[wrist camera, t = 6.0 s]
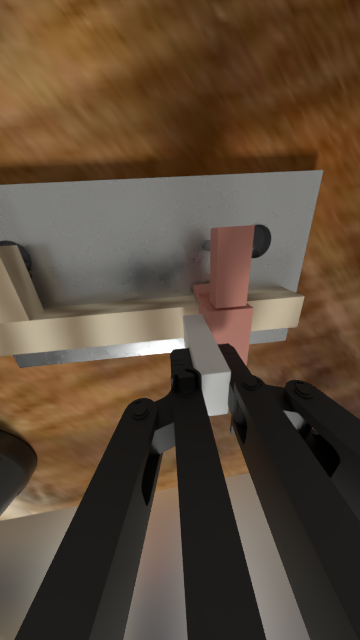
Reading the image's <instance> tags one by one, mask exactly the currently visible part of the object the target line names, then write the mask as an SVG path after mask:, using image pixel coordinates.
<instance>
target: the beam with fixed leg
mask: <svg viewBox="0 0 360 640" xmlns="http://www.w3.org/2000/svg"><path fill="white" fill-rule="evenodd" d="M304 297H305V296H303V295H300V294H298V293H295V292H293V291H291V290H288V289H286V288H272V289H260V290H248V295H247V303H248V304H249V305H250V306H252V307H253V317H252V325H251V331H260V330H270V329H280V328H290V327H297V325H298V321H299V317H300V313H301V309H302V305H303V301H304ZM194 314H199V302H198V301H197V299H196V297H195V295H190V296H178V297H166V298H154V299H143V300H131V301H119V302H108V303H96V304H84V305H72V306H61V307H49V308H43V307H42V305H41V302H40V300H39V297H38V295H37V293H36V290H35V288H34V285H33V283H32V280H31V278H30V276H29V273H28V271H27V268H26V266H25V263H24V261H23V259H22V256H21V254H20V251H19V249H18V246H17V245H11V246H0V356H7V355H18V354H28V353H38V352H48V351H58V350H68V349H78V348H88V347H98V346H108V345H119V344H129V343H139V342H149V341H159V340H169V339H179V338H184V329H183V315H194Z"/></svg>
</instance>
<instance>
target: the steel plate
mask: <svg viewBox="0 0 360 640" xmlns="http://www.w3.org/2000/svg"><path fill="white" fill-rule="evenodd" d="M322 174H323V170H312V171H291V172H269V173H247V174H226V175H204V176H182V177H161V178H139V179H117V180H96V181H74V182H52V183H31V184H9V185H0V246H11V245H17V246H18V249H19V251H20V254H21V256H22V259H23V261H24V263H25V266H26V268H27V271H28V273H29V276H30V278H31V280H32V283H33V285H34V288H35V290H36V293H37V295H38V297H39V300H40V302H41V305H42V307H43V308H49V307H61V306H72V305H84V304H96V303H108V302H119V301H131V300H143V299H154V298H166V297H178V296H190V295H194V293H193V285H197V284H209V283H210V252H209V251H206V250H205V249H204V243H205V241H207V240H210V233H211V228H217V227H232V226H248V225H255V228H254V238H253V247H252V257H251V266H250V276H249V285H248V290H260V289H272V288H286V289H288V290H291V291H293V292H295V293H296V291H297V286H298V282H299V277H300V273H301V268H302V264H303V259H304V255H305V250H306V246H307V241H308V237H309V232H310V228H311V224H312V219H313V215H314V210H315V206H316V201H317V197H318V192H319V188H320V183H321V179H322ZM287 331H288V328H280V329H270V330H260V331H251V333H250V341H249V344H255V343H265V342H275V341H284V340H286V336H287ZM182 348H185V346H184V338H179V339H169V340H159V341H149V342H139V343H129V344H119V345H108V346H98V347H88V348H78V349H68V350H58V351H48V352H38V353H28V354H18V355H13V356H14V358H15V360H16V362H17V364H18V365H19V367H20V368H23V367H33V366H42V365H52V364H62V363H71V362H81V361H91V360H100V359H110V358H120V357H129V356H139V355H149V354H158V353H168V352H172V351H173V349H182Z"/></svg>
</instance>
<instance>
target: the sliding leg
mask: <svg viewBox="0 0 360 640" xmlns="http://www.w3.org/2000/svg"><path fill="white" fill-rule="evenodd" d="M254 228H255V225H248V226H232V227H217V228H211V233H210V240H207V241H205V243H204V249H205V250H206V251H209V252H210V283H209V284H197V285H193V293H194V295H195V297H196V299H197V301H198V302H199V314H202V315H203V317H204V319H205V321H206V323H207V325H208V327H209V329H210V331H211V333H212V335H213V337H214V339H215V341H216V343H217V344H226V343H229V344H230V345H231V346H233V347H234V348H235V349H236V351H237V352H238V354H239V356H240V357H241V359H242V360H243V362H244V363H245V365H247V357H248V349H249V341H250V333H251V325H252V317H253V307H252V306H250V305H249V304H248V303H247V295H248V285H249V276H250V266H251V257H252V247H253V238H254Z"/></svg>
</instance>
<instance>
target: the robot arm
mask: <svg viewBox="0 0 360 640" xmlns="http://www.w3.org/2000/svg"><path fill="white" fill-rule="evenodd" d="M183 329H184V346H185V348H182V349H173V351H172V352H171V354H170V360H171V387H172V388H171V391H170V392H169V394H168V395H167V396H165V397H164V398H162V399H160V400H158V401H155V402H153V401H152V400H151V399H148V398H140V399H137V400H135V401H133V402H132V403H130V404H129V405H128V406H127V408H126V409H125V411H124V413H123V415H122V417H121V419H120V421H119V423H118V426H117V428H116V430H115V432H114V434H113V436H112V438H111V440H110V442H109V444H108V446H107V448H106V450H105V453H104V455H103V457H102V459H101V461H100V463H99V465H98V467H97V469H96V471H95V473H94V475H93V477H92V480H91V482H90V484H89V486H88V488H87V490H86V492H85V494H84V496H83V498H82V500H81V502H80V504H79V507H78V509H77V511H76V513H75V515H74V517H73V519H72V521H71V523H70V525H69V528H68V529H67V532H66V534H65V536H64V538H63V540H62V542H61V544H60V546H59V548H58V550H57V552H56V554H55V556H54V559H53V561H52V563H51V565H50V567H49V569H48V571H47V573H46V575H45V577H44V579H43V582H42V583H41V586H40V588H39V590H38V592H37V594H36V596H35V598H34V600H33V602H32V604H31V606H30V608H29V610H28V613H27V615H26V617H25V619H24V621H23V623H22V625H21V627H20V629H19V631H18V633H17V635H16V637H15V640H123V638H124V633H125V628H126V623H127V618H128V614H129V610H130V605H131V600H132V595H133V591H134V586H135V582H136V577H137V572H138V568H139V563H140V558H141V554H142V549H143V544H144V540H145V534H146V530H147V525H148V521H149V516H150V512H151V507H152V502H153V498H154V493H155V488H156V484H157V479H158V474H159V470H160V465H161V460H162V456H163V452H164V451H166V450H168V449H170V448H172V447H174V446H176V461H177V477H178V491H179V508H180V523H181V539H182V556H183V572H184V587H185V603H186V618H187V634H188V640H266V637H265V633H264V629H263V625H262V621H261V617H260V613H259V609H258V606H257V602H256V598H255V594H254V590H253V586H252V582H251V578H250V575H249V571H248V567H247V563H246V559H245V555H244V551H243V548H242V544H241V540H240V536H239V532H238V528H237V524H236V520H235V516H234V513H233V509H232V505H231V501H230V497H229V493H228V489H227V485H226V481H225V478H224V474H223V470H222V466H221V462H220V458H219V454H218V450H217V447H216V443H215V439H214V435H213V431H212V427H211V423H210V419H209V416H213V415H221V414H228V407H229V409H230V412H231V414H232V416H231V427H230V432H231V435H232V434H233V431H234V432H235V434H236V437H237V440H238V443H239V445H240V448H241V451H242V454H243V456H244V459H245V462H246V465H247V467H248V470H249V473H250V475H251V478H252V481H253V483H254V486H255V489H256V492H257V495H258V497H259V500H260V503H261V506H262V508H263V511H264V514H265V517H266V519H267V522H268V524H269V527H270V530H271V533H272V536H273V538H274V541H275V544H276V547H277V549H278V552H279V555H280V557H281V560H282V563H283V566H284V569H285V571H286V574H287V577H288V580H289V582H290V585H291V588H292V590H293V593H294V596H295V599H296V601H297V604H298V607H299V610H300V612H301V615H302V618H303V621H304V623H305V626H306V629H307V632H308V634H309V637H310V640H360V420H359V419H358V418H357V417H355V416H354V415H353V414H351V413H350V412H349V411H347V410H346V409H344V408H343V407H342V406H340V405H339V404H338V403H336V402H335V401H334V400H332V399H331V398H329V397H328V396H327V395H325V394H324V393H323V392H321V391H320V390H319V389H317V388H316V387H314V386H313V385H311V384H309V383H307V382H304V381H300V380H291V381H289V382H287V383H286V386H285V388H284V387H277V386H270V385H266V384H265V383H264V382H263V381H262V380H261V379H260V378H258V377H256V376H254V375H252V374H251V373H250V371H249V370H248V368H247V366H246V365H245V363H244V362H243V360H242V359H241V357H240V356H239V354H238V352H237V351H236V349H235V348H234V347H233V346H231V345H230V344H229V343H226V344H217V343H216V341H215V339H214V337H213V335H212V333H211V331H210V329H209V327H208V325H207V323H206V321H205V319H204V317H203V315H202V314H194V315H183ZM312 427H313V428H314V429H315V430H316V431H317V432H316V431H315V430H313V429H312ZM36 466H37V459H36V456H35V454H34V452H33V451H32V450H31V448H30V447H29V446H28V445H26V444H25V443H24V442H22V441H21V440H19V439H18V438H16V437H14V436H12V435H10V434H7V433H5V432H2V431H0V516H1V514H2V513H3V512H4V511H5V510H6V508H7V507H8V506H9V505H10V503H11V502H12V501H13V500H14V498H15V497H16V496H18V495H19V494H20V493H21V491H22V490H23V489H24V488H25V487H26V485H27V484H28V482H29V480H30V478H31V476H32V474H33V473H34V471H35V469H36Z"/></svg>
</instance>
